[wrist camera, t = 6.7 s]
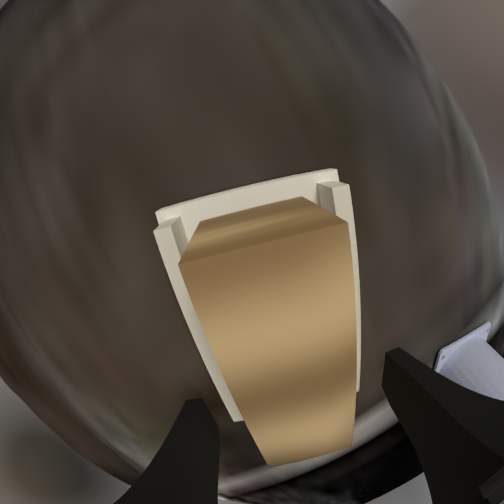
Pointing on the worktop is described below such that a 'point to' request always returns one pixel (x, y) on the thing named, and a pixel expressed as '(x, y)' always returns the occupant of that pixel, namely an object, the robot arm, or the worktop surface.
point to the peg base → (193, 211)
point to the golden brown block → (280, 322)
